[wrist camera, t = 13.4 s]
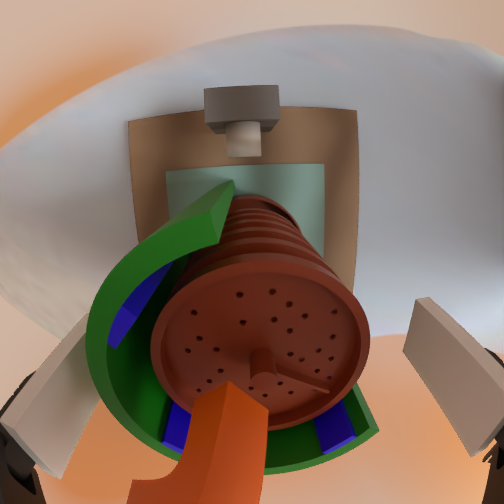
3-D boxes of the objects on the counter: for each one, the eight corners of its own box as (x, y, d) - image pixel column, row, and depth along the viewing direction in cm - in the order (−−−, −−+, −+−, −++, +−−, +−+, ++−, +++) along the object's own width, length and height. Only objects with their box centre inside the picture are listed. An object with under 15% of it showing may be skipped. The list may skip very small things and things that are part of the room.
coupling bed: (350, 113, 20) (392, 96, 13) (340, 341, 27) (364, 390, 20) (135, 123, 20) (91, 110, 13) (166, 350, 27) (148, 401, 20)
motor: (328, 247, 22) (501, 465, 3) (256, 322, 24) (275, 567, 5) (230, 162, 20) (10, 144, 1) (160, 251, 22) (-1, 475, 3)
